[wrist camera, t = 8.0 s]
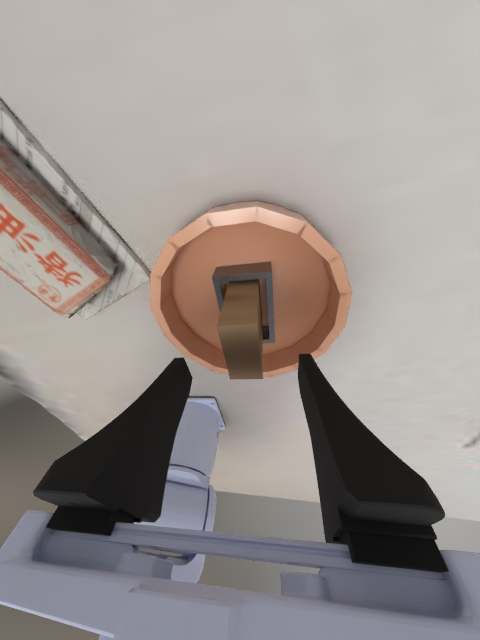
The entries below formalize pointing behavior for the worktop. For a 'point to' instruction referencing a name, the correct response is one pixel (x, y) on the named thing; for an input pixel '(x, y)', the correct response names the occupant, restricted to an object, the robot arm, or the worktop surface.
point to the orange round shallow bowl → (287, 276)
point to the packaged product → (57, 232)
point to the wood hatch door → (242, 330)
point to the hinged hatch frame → (247, 273)
